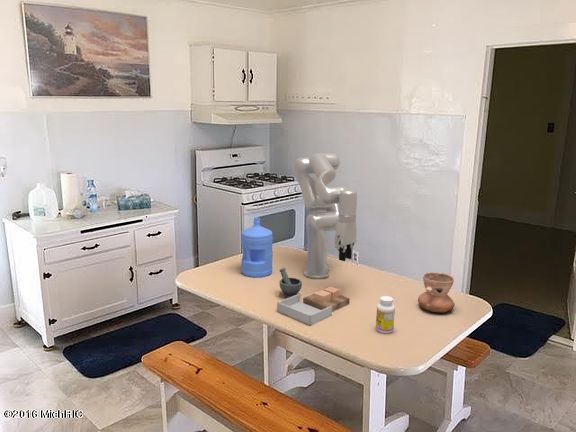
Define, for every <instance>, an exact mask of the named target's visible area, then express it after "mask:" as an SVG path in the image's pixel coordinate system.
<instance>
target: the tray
mask: <svg viewBox="0 0 576 432" xmlns="http://www.w3.org/2000/svg"><path fill="white" fill-rule="evenodd" d="M276 303H277V304H276V311H277V313H280V314H282V315H284V316H286V317H289V318H291V319H293V320H295V321H298V322H300V323H302V324H306V325H308V326H313V325H315V324H317V323H319V322H321V321H324V320H325V319H328V318H330V317H331V316H333V312H332V306H329V307H327V308H325V309H323V310H320V309H317V308H315V307H312V306H309V305H307V304H304V303H303V301H302V302H301V294H300V293H297V295H295V296H292V297H290V298H284V299H282V300H280V301H277V302H276Z"/></svg>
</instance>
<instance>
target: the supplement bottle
mask: <svg viewBox="0 0 576 432" xmlns="http://www.w3.org/2000/svg"><path fill="white" fill-rule="evenodd" d="M379 301H380V302H378V304H377V306H376V319H375V329H376V331H378V332H379V333H381V334H391V333H392V332H394V327H395V315H396V314H395V313H396V306H395V305H394V304H393V302H394V298H393V297H391V296H389V295H388V296H387V295H383V296H380V299H379Z"/></svg>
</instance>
